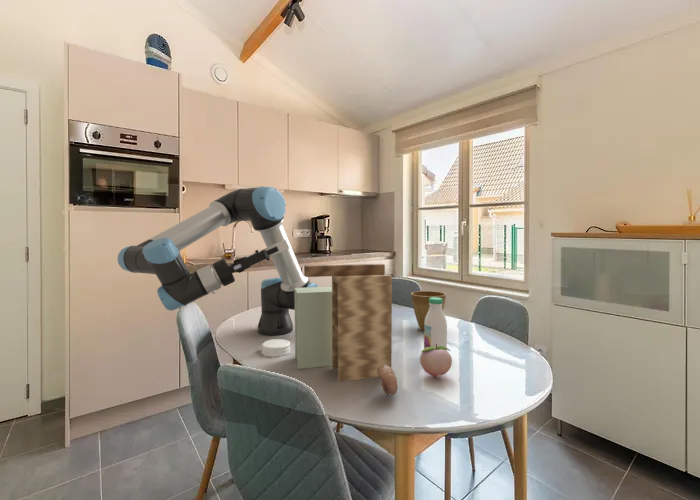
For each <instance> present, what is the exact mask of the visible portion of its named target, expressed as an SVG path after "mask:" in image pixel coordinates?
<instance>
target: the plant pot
mask: <svg viewBox="0 0 700 500" xmlns="http://www.w3.org/2000/svg"><path fill="white" fill-rule="evenodd" d="M410 296H411V301H412V302H411V303H412V307H413V312H414V315H415V318H416V322H417V324H418V327H419V329H420V331H422V332H424V322H425V317H426V315H427V313H428V311H429V307H430V305H429V298H432V297H438V298H442V299H443V303H442V304H443V305H442V310H443V311H444V308H445V305H446V304H445V303H446V298H447V297H446V296H447V293H445V292H441V291H433V290H431V291H430V290H421V291H420V290H419V291H413V292H411V293H410Z"/></svg>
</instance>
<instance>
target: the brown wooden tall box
mask: <svg viewBox="0 0 700 500" xmlns="http://www.w3.org/2000/svg"><path fill="white" fill-rule="evenodd" d="M331 288H332V366H331V368H332V370H333V371H337V380H338V382H345V381H354V380H355V381H356V380H363V379H364V380H365V379H373V378H380V377H379V375H378V372H377V369H378V367H379V366H381V365H388V366H389V367H391V368H392V354H393V353H392V350H393V349H392V337H393V336H392V331H393V330H392V329H393V327H392V326H393V325H392V322H393V321H392V320H393V319H392V318H393V316H392V315H393V303H392V302H393V275H390V274H388V273H385V274H384V275H354V276H331Z"/></svg>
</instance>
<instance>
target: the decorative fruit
mask: <svg viewBox="0 0 700 500" xmlns="http://www.w3.org/2000/svg"><path fill="white" fill-rule="evenodd" d="M450 352H451V350H450V349H449V348H448V347H444V346H438V347H437V344H436V347H427V348H425V349H424V348H423V349H422V350H421V352H420V353H421V354H420V357H419V362H420V366H421V368H422V369H423V370H424V371H425V373H427V374H428V375H430V376H432V377H435V378H437V377H439V376H443V375H445V374H447V373H448V372H449V371H450V369H451V367H452V365H453V364H452V363H453V359H452V355H451V354H450Z"/></svg>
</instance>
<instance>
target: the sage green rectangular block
mask: <svg viewBox="0 0 700 500" xmlns="http://www.w3.org/2000/svg"><path fill="white" fill-rule="evenodd" d="M294 293H295V310H294V358H295V360H297V370H303V369H310V368H311V369H312V368H313V369H315V368H321V367H332V286H331V287H330V286H318V287H307V288H294Z"/></svg>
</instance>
